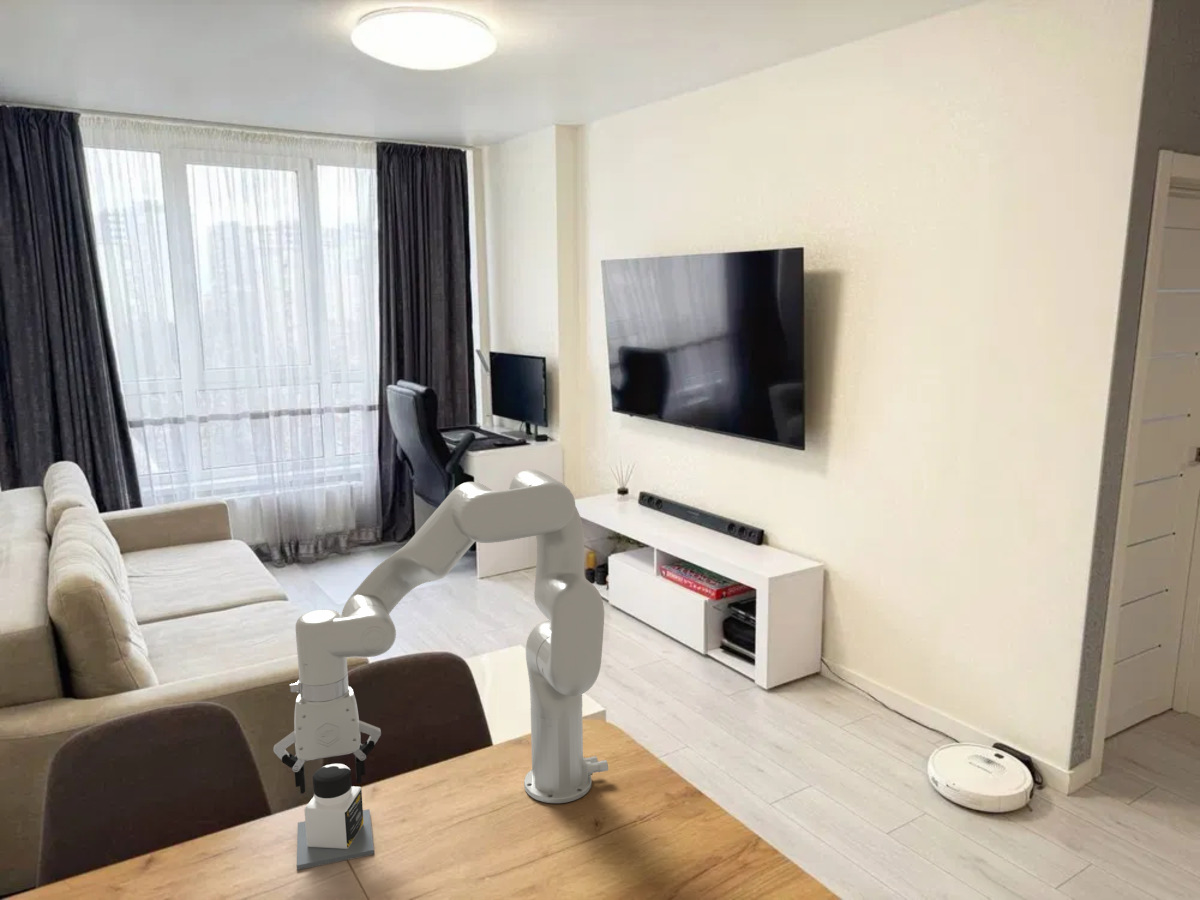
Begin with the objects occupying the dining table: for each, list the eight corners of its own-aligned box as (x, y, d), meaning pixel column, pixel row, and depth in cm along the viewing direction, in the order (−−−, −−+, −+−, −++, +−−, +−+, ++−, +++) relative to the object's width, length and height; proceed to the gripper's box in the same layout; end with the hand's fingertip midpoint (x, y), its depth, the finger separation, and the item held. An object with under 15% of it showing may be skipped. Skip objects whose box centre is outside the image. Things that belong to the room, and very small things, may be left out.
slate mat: (369, 813, 151) (369, 809, 151) (374, 854, 139) (374, 849, 139) (298, 826, 147) (297, 822, 147) (296, 870, 136) (296, 865, 136)
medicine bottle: (348, 850, 139) (343, 783, 137) (306, 847, 140) (301, 781, 138) (364, 823, 146) (360, 759, 144) (324, 821, 147) (319, 757, 145)
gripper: (266, 704, 132) (274, 806, 135) (380, 688, 138) (386, 786, 141) (268, 684, 139) (276, 782, 142) (377, 669, 145) (383, 763, 148)
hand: (331, 783), depth 141 cm, fingers open, 8 cm apart
